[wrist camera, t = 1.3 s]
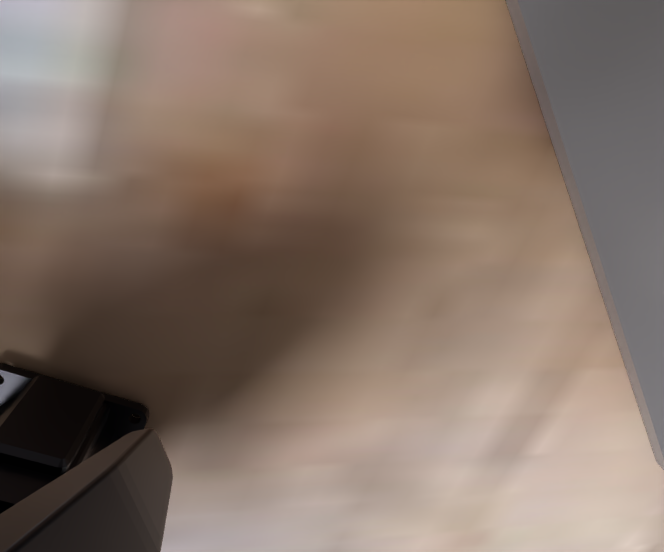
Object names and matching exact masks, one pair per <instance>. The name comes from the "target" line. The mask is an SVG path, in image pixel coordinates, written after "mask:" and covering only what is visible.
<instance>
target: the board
mask: <svg viewBox="0 0 664 552" xmlns="http://www.w3.org/2000/svg"><path fill="white" fill-rule="evenodd" d="M505 1H506V4H507V7H508V10H509V13H510V16H511V19H512V22H513V25H514V28H515V31H516V34H517V37H518V40H519V43H520V46H521V49H522V53H523V56H524V59H525V62H526V65H527V68H528V71H529V74H530V77H531V80H532V83H533V86H534V89H535V92H536V95H537V98H538V101H539V104H540V108H541V111H542V114H543V117H544V120H545V123H546V126H547V129H548V132H549V135H550V138H551V141H552V144H553V147H554V150H555V153H556V156H557V159H558V162H559V166H560V169H561V172H562V175H563V178H564V181H565V184H566V187H567V190H568V193H569V196H570V199H571V202H572V205H573V208H574V211H575V214H576V217H577V221H578V224H579V227H580V230H581V233H582V236H583V239H584V242H585V245H586V248H587V251H588V254H589V257H590V260H591V263H592V266H593V269H594V272H595V276H596V279H597V282H598V285H599V288H600V291H601V294H602V297H603V300H604V303H605V306H606V309H607V312H608V315H609V318H610V321H611V324H612V327H613V330H614V334H615V337H616V340H617V343H618V346H619V349H620V352H621V355H622V358H623V361H624V364H625V367H626V370H627V373H628V376H629V379H630V382H631V385H632V389H633V392H634V395H635V398H636V401H637V404H638V407H639V410H640V413H641V416H642V419H643V422H644V425H645V428H646V431H647V434H648V437H649V440H650V443H651V447H652V450H653V453H654V456H655V459H656V462H657V463H658V464H659V465H660V467H661V468H662V469H663V470H664V0H505Z"/></svg>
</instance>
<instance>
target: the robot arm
mask: <svg viewBox="0 0 664 552" xmlns="http://www.w3.org/2000/svg"><path fill="white" fill-rule="evenodd" d="M0 375H1V376H2V377H3V378H4V379H0V552H160V551H161V546H162V540H163V534H164V528H165V522H166V516H167V510H168V504H169V498H170V492H171V486H172V479H173V474H172V468H171V464H170V461H169V459H168V457H167V454H166V452H165V450H164V447H163V445H162V443H161V440H160V438H159V436H158V434H157V432H156V431H155V430H154V429H152V428H147V429H144V428H145V425H146V423H147V420H148V417H149V411H148V409H147V408H146V407H145V406H144V405H142V404H140V403H136V402H133V401H129V400H126V399H122V398H119V397H116V396H112V395H109V394H105V393H102V392H99V391H95V390H92V389H88V388H85V387H81V386H78V385H75V384H71V383H68V382H64V381H61V380H58V379H54V378H51V377H47V376H44V375H40V374H37V373H34V372H30V371H27V370H23V369H20V368H16V367H13V366H10V365H6V364H1V363H0ZM132 414H137V415H139V416H140V417H139V418H136V417H134V416H132Z"/></svg>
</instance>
